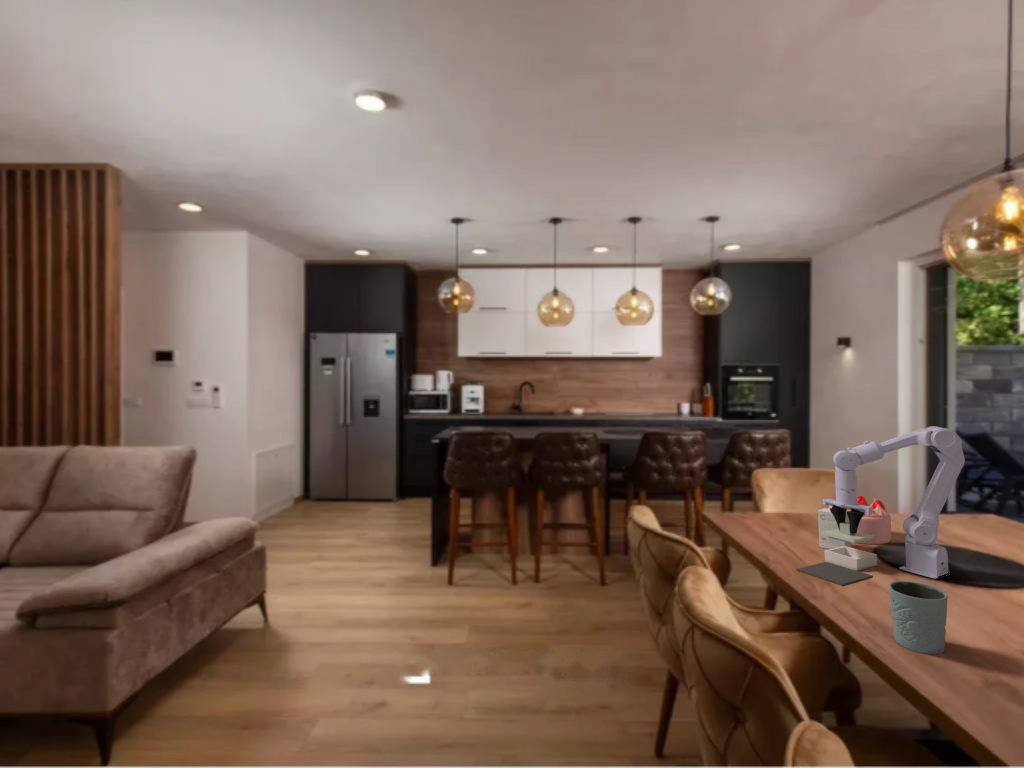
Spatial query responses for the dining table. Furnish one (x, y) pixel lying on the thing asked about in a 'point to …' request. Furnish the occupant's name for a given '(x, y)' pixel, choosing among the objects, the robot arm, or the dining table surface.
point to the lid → (847, 534)
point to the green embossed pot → (919, 616)
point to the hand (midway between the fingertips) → (847, 531)
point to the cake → (875, 522)
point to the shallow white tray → (851, 558)
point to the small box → (826, 524)
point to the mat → (834, 573)
